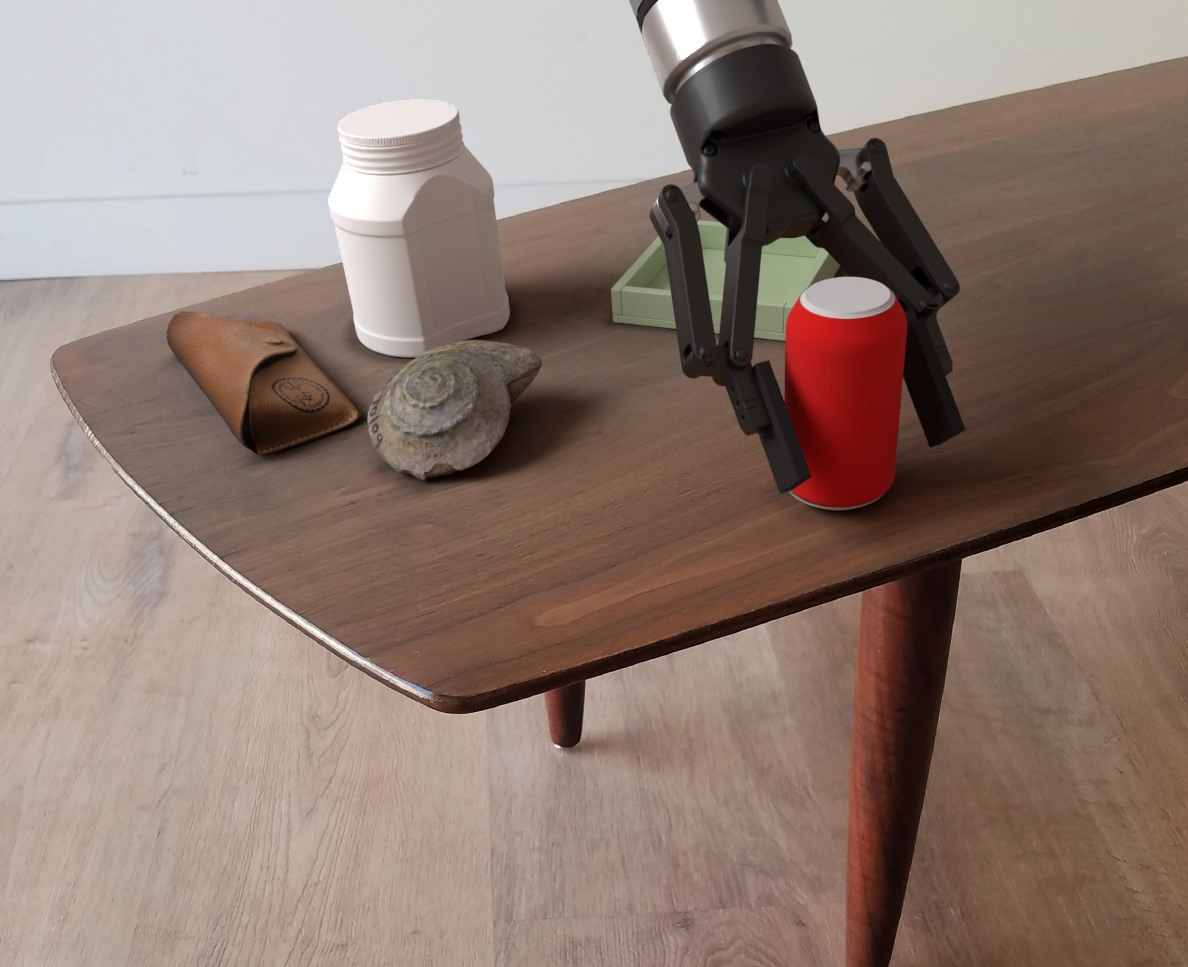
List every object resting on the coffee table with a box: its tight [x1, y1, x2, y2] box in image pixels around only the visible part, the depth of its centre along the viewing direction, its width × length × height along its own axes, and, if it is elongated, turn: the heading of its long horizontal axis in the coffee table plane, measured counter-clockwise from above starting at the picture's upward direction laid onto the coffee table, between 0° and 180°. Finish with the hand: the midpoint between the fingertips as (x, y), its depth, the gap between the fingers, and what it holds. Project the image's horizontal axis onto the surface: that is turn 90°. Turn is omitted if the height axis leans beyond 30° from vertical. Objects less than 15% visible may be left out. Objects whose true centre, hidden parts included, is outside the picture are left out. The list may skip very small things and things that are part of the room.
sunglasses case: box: [166, 310, 361, 457], centre depth 84 cm, size 18×7×7 cm
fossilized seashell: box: [367, 339, 543, 481], centre depth 77 cm, size 11×11×7 cm
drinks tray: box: [610, 219, 841, 342], centre depth 91 cm, size 14×14×3 cm
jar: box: [327, 98, 511, 359], centre depth 87 cm, size 12×10×15 cm
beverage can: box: [783, 276, 907, 512], centre depth 66 cm, size 6×6×12 cm
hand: (872, 461), depth 65 cm, fingers open, 9 cm apart
